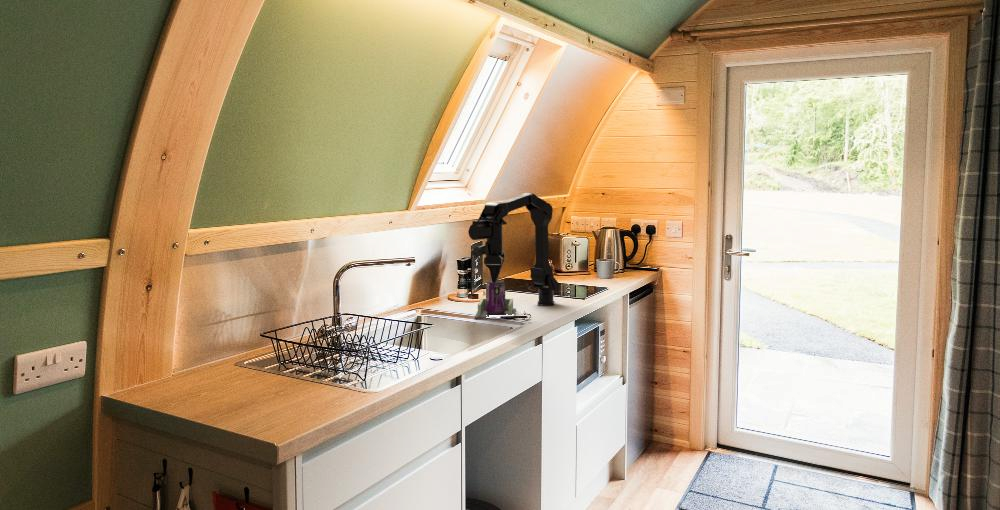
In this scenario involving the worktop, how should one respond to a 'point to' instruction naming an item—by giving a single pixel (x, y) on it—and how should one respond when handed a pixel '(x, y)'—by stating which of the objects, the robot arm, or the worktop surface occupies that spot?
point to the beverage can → (495, 297)
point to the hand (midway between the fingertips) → (495, 280)
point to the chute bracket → (482, 314)
